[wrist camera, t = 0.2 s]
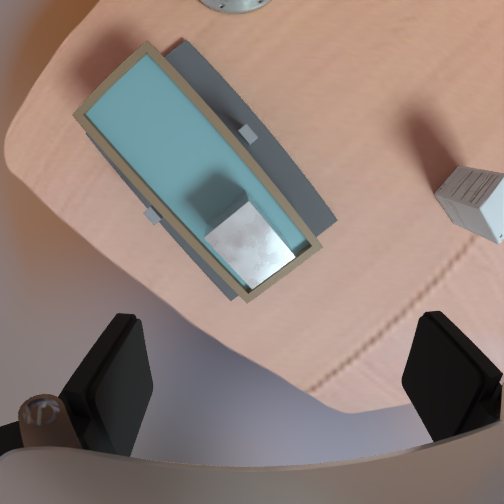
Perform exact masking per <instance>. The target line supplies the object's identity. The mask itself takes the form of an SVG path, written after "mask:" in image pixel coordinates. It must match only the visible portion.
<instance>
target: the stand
mask: <svg viewBox="0 0 504 504" xmlns="http://www.w3.org/2000/svg"><path fill="white" fill-rule="evenodd" d="M164 58H165V59H166V60H167V61H168V62H169V63H170V64H171V65H172V66H173V67H174V68H175V69H176V71H177V72H178V73H179V74H180V75H181V76H182V77H183V78H184V79H185V80H186V81H187V83H188V84H189V85H190V86H191V87H192V88H193V89H194V90H195V91H196V92H197V94H198V95H199V96H200V97H201V98H202V99H203V100H204V101H205V103H206V104H207V105H208V106H209V107H210V108H211V109H212V110H213V112H214V113H215V114H216V115H217V116H218V117H219V118H220V120H221V121H222V122H223V123H224V124H225V125H226V127H227V128H228V129H229V130H230V131H231V132H232V134H233V135H234V136H235V137H236V138H237V139H238V141H239V142H240V143H241V144H242V145H243V147H244V148H245V149H246V150H247V151H248V152H249V154H250V155H251V156H252V157H253V159H254V160H255V161H256V162H257V163H258V165H259V166H260V167H261V168H262V169H263V171H264V172H265V173H266V174H267V176H268V177H269V178H270V179H271V181H272V182H273V183H274V184H275V185H276V187H277V188H278V189H279V190H280V192H281V193H282V194H283V195H284V197H285V198H286V199H287V201H288V202H289V203H290V204H291V206H292V207H293V208H294V209H295V211H296V212H297V213H298V215H299V216H300V217H301V218H302V220H303V221H304V222H305V224H306V225H307V226H308V228H309V229H310V230H311V231H312V233H313V234H314V235H315V237H317V236H318V235H319V234H321V233H322V232H323V231H325V230H326V229H327V228H328V227H330V226H331V225H332V224H334V223H335V222H336V221H338V220H337V219H336V217H335V216H334V214H333V213H332V212H331V210H330V209H329V208H328V206H327V205H326V203H325V202H324V201H323V199H322V198H321V197H320V195H319V194H318V193H317V191H316V190H315V189H314V187H313V186H312V185H311V183H310V182H309V181H308V179H307V178H306V177H305V175H304V174H303V173H302V172H301V170H300V169H299V168H298V166H297V165H296V164H295V163H294V161H293V160H292V159H291V158H290V156H289V155H288V154H287V152H286V151H285V150H284V149H283V148H282V146H281V145H280V144H279V143H278V141H277V140H276V139H275V138H274V136H273V135H272V134H271V133H270V132H269V130H268V129H267V128H266V127H265V126H264V124H263V123H262V122H261V121H260V120H259V118H258V117H257V116H256V115H255V114H254V113H253V111H252V110H251V109H250V108H249V107H248V106H247V104H246V103H245V102H244V101H243V100H242V99H241V98H240V96H239V95H238V94H237V93H236V92H235V91H234V90H233V89H232V87H231V86H230V85H229V84H228V83H227V82H226V81H225V80H224V79H223V77H222V76H221V75H220V74H219V73H218V72H217V71H216V70H215V69H214V68H213V67H212V66H211V65H210V63H209V62H208V61H207V60H206V59H205V58H204V57H203V56H202V55H201V54H200V53H199V52H198V51H197V50H196V49H195V48H194V47H193V46H192V45H191V44H190V43H189V42H188V41H187V40H185V41H184V42H183V43H181V44H180V45H179V46H178V47H176V48H175V49H174V50H173V51H171V52H170V53H169V54H168V55H166V56H165V57H164ZM86 135H87V136H88V137H89V138H90V140H91V141H92V142H93V143H94V145H95V146H96V147H97V148H98V150H99V151H100V152H101V153H102V155H103V156H104V157H105V158H106V160H107V161H108V162H109V163H110V164H111V166H112V167H113V168H114V169H115V170H116V172H117V173H118V174H119V175H120V177H121V178H122V179H123V180H124V181H125V183H126V184H127V185H128V186H129V187H130V188H131V190H132V191H133V192H134V193H135V194H136V196H137V197H138V198H139V199H140V200H141V201H142V203H143V204H144V205H145V206H146V207H147V208H148V209H147V210H146V211H145V212H144V214H145V216H146V217H147V218H148V219H149V220H150V221H151V222H152V224H153V225H155V224H157V223H158V222H160V223H161V225H162V226H163V227H164V228H165V229H166V230H167V231H168V233H169V234H170V235H171V236H172V237H173V238H174V239H175V241H176V242H177V243H178V244H179V245H180V246H181V247H182V248H183V250H184V251H185V252H186V253H187V254H188V255H189V256H190V257H191V258H192V260H193V261H194V262H195V263H196V264H197V265H198V266H199V267H200V268H201V269H202V271H203V272H204V273H205V274H206V275H207V276H208V277H209V278H210V279H211V280H212V281H213V283H214V284H215V285H216V286H217V287H218V288H219V289H220V290H221V291H222V292H223V293H224V294H225V295H226V297H227V298H228V299H229V300H230V301H232V300H233V299H234V298H236V297H237V296H238V294H237V293H236V292H235V291H234V290H233V289H232V288H231V287H230V286H229V285H228V284H227V283H226V282H225V281H224V280H223V279H222V278H221V277H220V276H219V275H218V274H217V273H216V271H215V270H214V269H213V268H212V267H211V266H210V265H209V264H208V263H207V262H206V261H205V260H204V259H203V258H202V257H201V256H200V255H199V254H198V253H197V252H196V251H195V250H194V249H193V248H192V247H191V246H190V245H189V244H188V243H187V241H186V240H185V239H184V238H183V237H182V236H181V235H180V234H179V233H178V232H177V231H176V230H175V229H174V228H173V227H172V226H171V225H170V224H169V222H168V221H167V220H166V219H165V218H164V217H163V216H162V215H161V214H160V213H159V212H158V211H157V210H156V209H155V207H154V206H153V205H152V204H151V203H150V202H149V201H148V200H147V199H146V198H145V197H144V196H143V194H142V193H141V192H140V191H139V190H138V189H137V188H136V187H135V186H134V185H133V184H132V182H131V181H130V180H129V179H128V178H127V177H126V176H125V175H124V174H123V172H122V171H121V170H120V169H119V168H118V167H117V166H116V165H115V164H114V162H113V161H112V160H111V159H110V158H109V157H108V156H107V155H106V153H105V152H104V151H103V150H102V149H101V148H100V147H99V145H98V144H97V143H96V142H95V141H94V140H93V139H92V137H91V136H90V135H89V134H88V133H87V132H86Z"/></svg>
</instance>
